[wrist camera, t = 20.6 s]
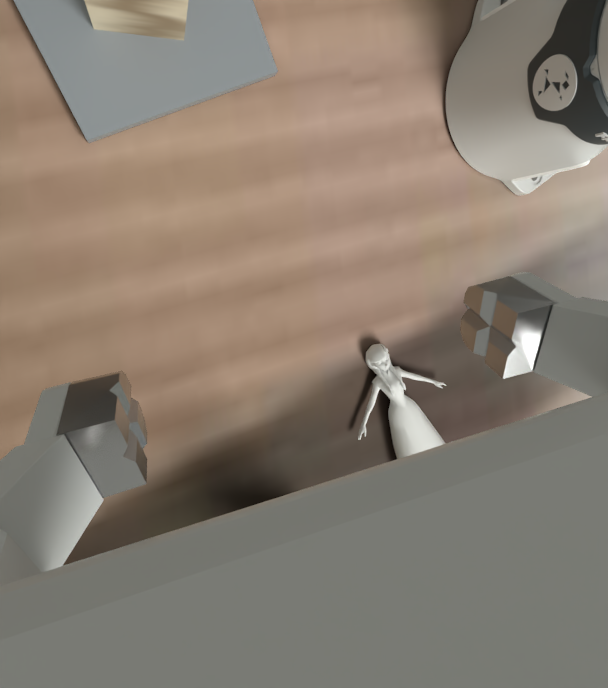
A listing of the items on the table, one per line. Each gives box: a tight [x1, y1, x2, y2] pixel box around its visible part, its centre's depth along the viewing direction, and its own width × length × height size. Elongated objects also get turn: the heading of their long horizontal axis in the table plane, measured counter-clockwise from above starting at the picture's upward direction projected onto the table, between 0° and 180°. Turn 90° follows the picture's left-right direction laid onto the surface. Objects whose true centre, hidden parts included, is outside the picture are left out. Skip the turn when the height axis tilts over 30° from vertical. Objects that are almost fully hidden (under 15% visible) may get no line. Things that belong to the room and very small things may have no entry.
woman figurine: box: [358, 344, 446, 459], centre depth 46 cm, size 12×4×18 cm
